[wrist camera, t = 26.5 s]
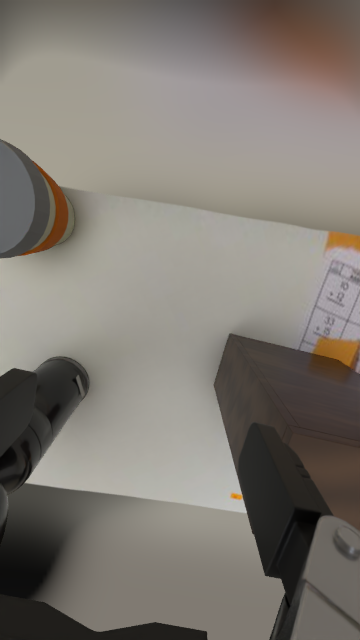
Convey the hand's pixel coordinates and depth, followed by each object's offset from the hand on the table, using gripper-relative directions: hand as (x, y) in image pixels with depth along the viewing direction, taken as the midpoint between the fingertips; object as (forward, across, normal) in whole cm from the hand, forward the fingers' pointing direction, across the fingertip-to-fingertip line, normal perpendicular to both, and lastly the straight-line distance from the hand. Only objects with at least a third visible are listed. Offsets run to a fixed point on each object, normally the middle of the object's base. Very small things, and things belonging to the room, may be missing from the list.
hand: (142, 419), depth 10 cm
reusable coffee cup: (+36, -22, +7) cm, 43 cm away
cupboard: (+36, +21, -10) cm, 43 cm away
